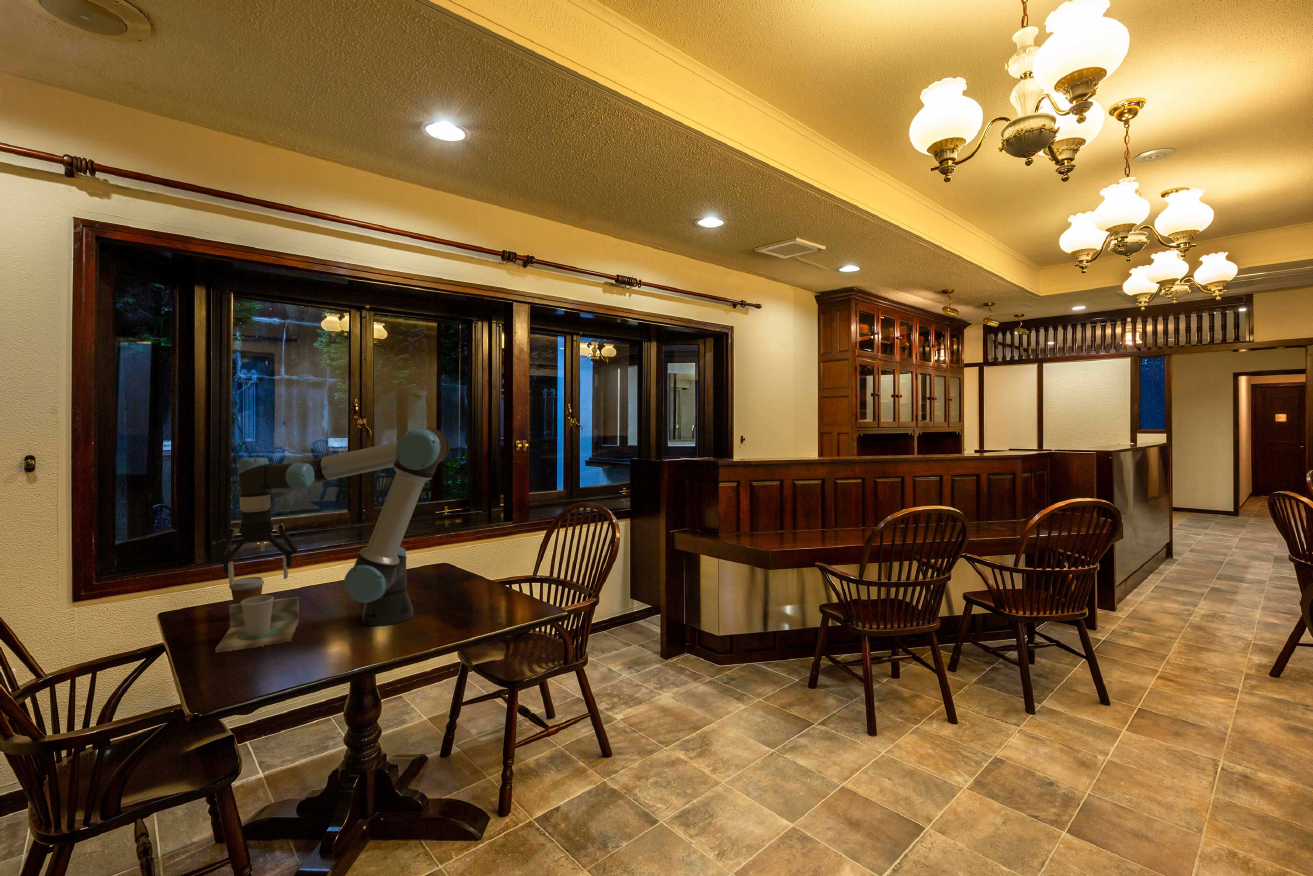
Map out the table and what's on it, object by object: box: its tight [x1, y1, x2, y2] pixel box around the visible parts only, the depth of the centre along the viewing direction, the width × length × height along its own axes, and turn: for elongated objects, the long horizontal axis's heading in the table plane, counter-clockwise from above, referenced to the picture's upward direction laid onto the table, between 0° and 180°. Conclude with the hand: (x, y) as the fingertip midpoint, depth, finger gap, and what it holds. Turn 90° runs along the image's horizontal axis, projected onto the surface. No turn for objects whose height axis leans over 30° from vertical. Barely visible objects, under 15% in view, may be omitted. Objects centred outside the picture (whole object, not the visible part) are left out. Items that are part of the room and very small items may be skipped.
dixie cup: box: [240, 595, 275, 636], centre depth 179 cm, size 8×8×10 cm
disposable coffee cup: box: [228, 576, 265, 604], centre depth 198 cm, size 10×10×12 cm
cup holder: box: [214, 596, 300, 654], centre depth 180 cm, size 18×20×8 cm
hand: (259, 581), depth 179 cm, fingers open, 13 cm apart
